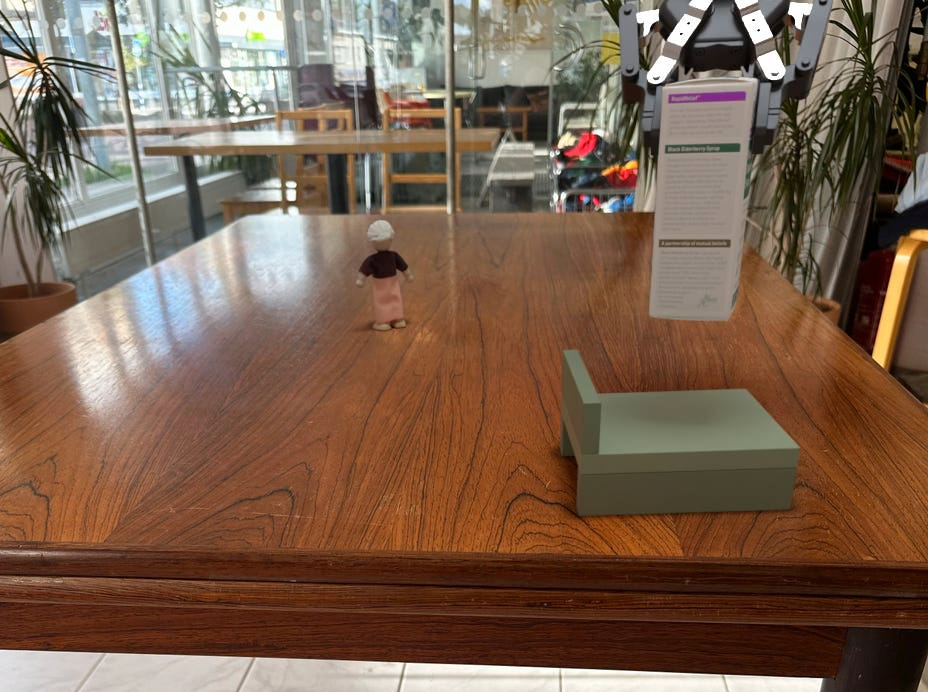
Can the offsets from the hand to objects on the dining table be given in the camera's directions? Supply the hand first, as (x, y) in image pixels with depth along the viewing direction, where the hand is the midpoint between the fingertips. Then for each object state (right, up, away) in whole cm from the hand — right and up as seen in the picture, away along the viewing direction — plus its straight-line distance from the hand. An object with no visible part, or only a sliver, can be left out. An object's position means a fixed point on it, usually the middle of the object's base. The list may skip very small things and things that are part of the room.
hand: (707, 145), depth 61 cm
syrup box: (+1, -8, +7) cm, 11 cm away
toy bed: (0, -20, +12) cm, 23 cm away
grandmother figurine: (-25, +8, +60) cm, 65 cm away
